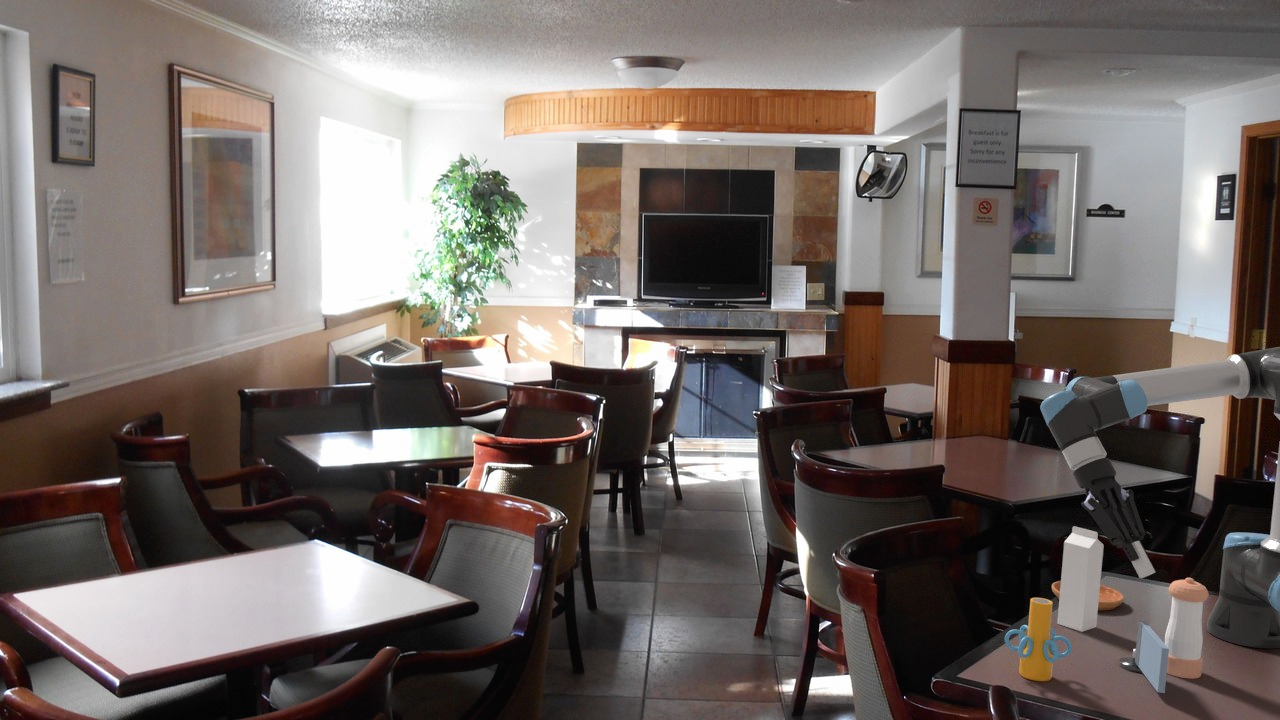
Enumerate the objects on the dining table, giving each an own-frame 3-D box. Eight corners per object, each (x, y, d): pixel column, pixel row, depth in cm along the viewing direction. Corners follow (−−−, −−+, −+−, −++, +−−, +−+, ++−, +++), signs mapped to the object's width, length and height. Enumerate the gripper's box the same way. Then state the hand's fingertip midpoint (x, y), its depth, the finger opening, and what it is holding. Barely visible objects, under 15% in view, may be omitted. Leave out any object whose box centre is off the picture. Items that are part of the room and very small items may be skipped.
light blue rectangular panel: (1134, 662, 211) (1138, 620, 210) (1141, 662, 211) (1145, 621, 210) (1157, 692, 196) (1161, 648, 195) (1164, 693, 196) (1169, 648, 195)
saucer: (1122, 598, 257) (1124, 587, 257) (1123, 618, 243) (1124, 605, 242) (1052, 587, 264) (1053, 576, 263) (1048, 606, 249) (1049, 593, 249)
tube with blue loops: (1067, 671, 208) (1073, 597, 207) (1070, 691, 199) (1077, 614, 197) (1002, 661, 212) (1008, 588, 211) (1001, 680, 202) (1008, 604, 201)
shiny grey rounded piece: (1132, 659, 216) (1134, 642, 216) (1158, 670, 211) (1160, 652, 211) (1112, 663, 214) (1114, 646, 213) (1138, 674, 208) (1140, 657, 208)
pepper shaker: (1185, 681, 206) (1194, 585, 204) (1152, 667, 213) (1161, 574, 211) (1209, 675, 209) (1218, 581, 208) (1175, 662, 216) (1184, 571, 214)
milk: (1081, 632, 231) (1090, 534, 229) (1056, 623, 236) (1064, 527, 234) (1096, 627, 235) (1105, 530, 233) (1071, 618, 240) (1080, 524, 237)
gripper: (1098, 467, 218) (1155, 575, 209) (1054, 476, 212) (1110, 588, 203) (1124, 452, 212) (1184, 562, 203) (1080, 460, 206) (1140, 575, 197)
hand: (1147, 575), depth 203 cm, fingers closed
